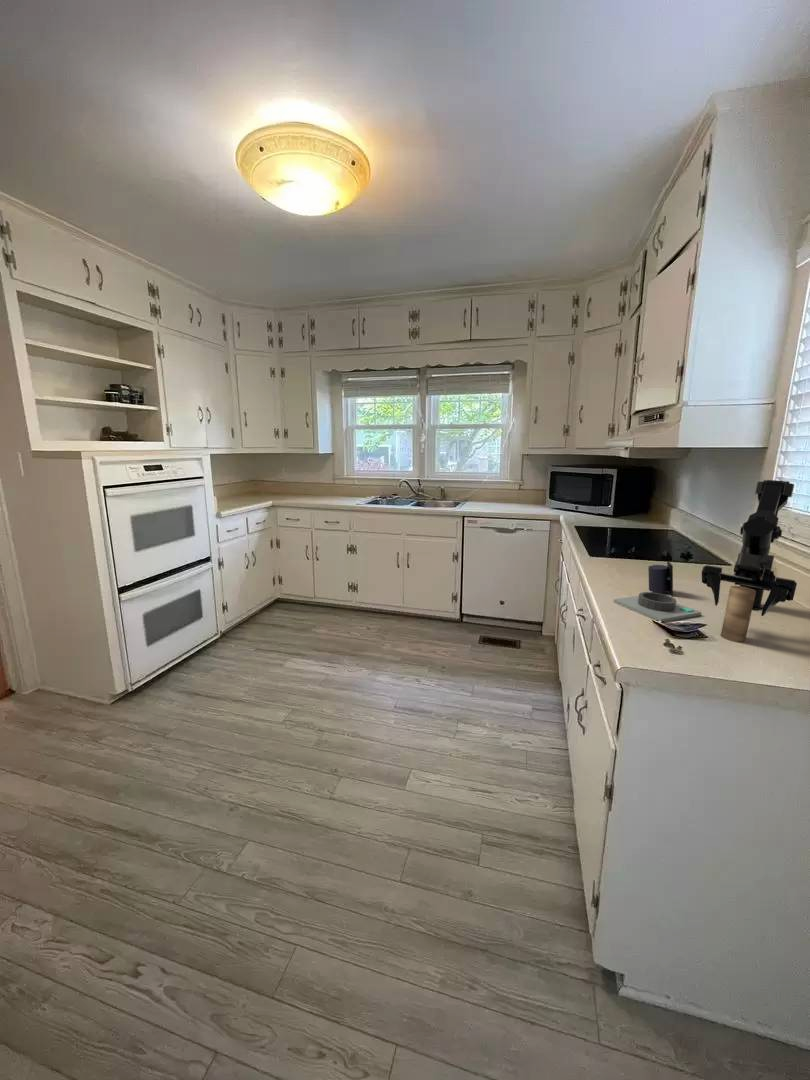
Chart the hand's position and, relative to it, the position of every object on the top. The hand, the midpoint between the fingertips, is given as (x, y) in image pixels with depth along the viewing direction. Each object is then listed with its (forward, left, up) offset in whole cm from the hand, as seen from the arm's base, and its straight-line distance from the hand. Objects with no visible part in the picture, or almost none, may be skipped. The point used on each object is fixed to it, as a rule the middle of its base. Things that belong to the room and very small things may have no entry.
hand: (738, 609), depth 106 cm
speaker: (-14, -32, -8) cm, 36 cm away
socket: (+1, -21, -8) cm, 23 cm away
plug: (0, 0, -8) cm, 8 cm away
